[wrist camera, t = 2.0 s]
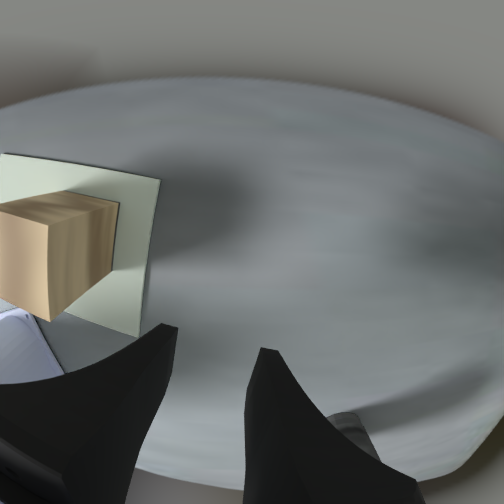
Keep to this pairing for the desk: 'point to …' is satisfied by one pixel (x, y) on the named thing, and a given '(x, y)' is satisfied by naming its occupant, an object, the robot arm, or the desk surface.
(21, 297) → the tan block
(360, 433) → the beverage cup
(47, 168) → the mat
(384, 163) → the desk surface
